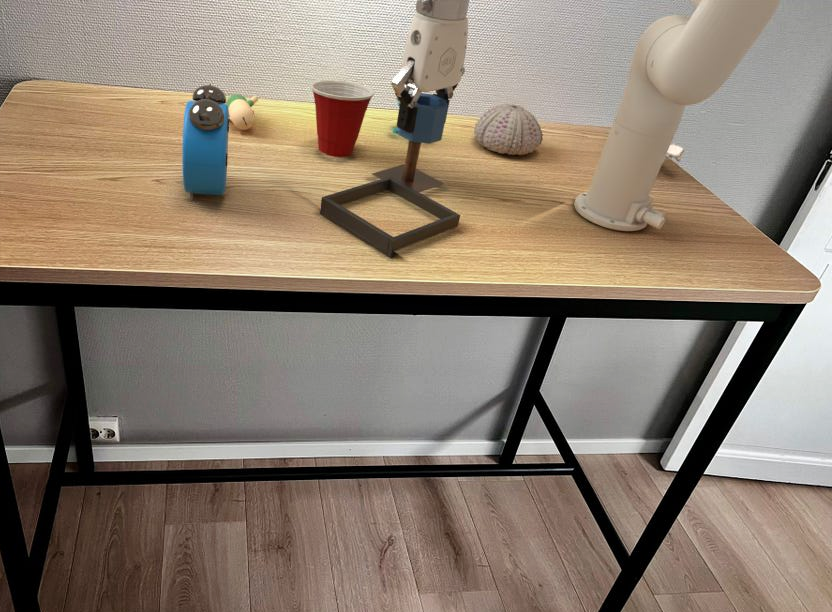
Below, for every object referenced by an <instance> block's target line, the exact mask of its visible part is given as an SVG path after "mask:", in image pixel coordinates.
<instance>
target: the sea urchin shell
mask: <svg viewBox="0 0 832 612" xmlns="http://www.w3.org/2000/svg"><path fill="white" fill-rule="evenodd" d="M473 129H474V131H473V133H474V138H476V141H477V142H478V144H479V145H480V146H482V148H485V149H487V150H489V151H492V152H496V153H498V154H503V155H504V154H507V155H512V156H515V155H519V156H523V155H528V154H530V153H531V154H532V153H533V151H537V149H538V148H539V147H540V146H541V145H542V142H543V140H544V138H543V136H544V134H543V130H542V127H541V125H540V123H539V122H538V119H537V118H536V117H535V115H534V114H532V113H531V111H528V110H527V109H525V108H524V107H523V106H521V105H517V104H510V103H499V104H497V105H495V106H492V107H491V108H488V109H487V111H484V113H483V115H481V116H480V117H479V119H477V121H476V123H475V124H474V128H473Z"/></svg>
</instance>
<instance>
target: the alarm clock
mask: <svg viewBox="0 0 832 612" xmlns="http://www.w3.org/2000/svg"><path fill="white" fill-rule="evenodd" d="M226 102H227V96H226V94H225V92H224V91H223V90H222V89H221V88H219V87H217V86H215V85H212V84H211V83H208V84H204V85H201V86H199V87H197V88H196V89H195V90H194V91H193V93H192V100H189V101H187V102H186V104H185V108H184V115H183V129H182V158H181V159H182V161H181V162H182V182H183V189H184V191H185V192H186V193H188V194H189V200H193V195H194V194H198V195H210V196H224V195H226V190H227V177H228V158H229V157H228V156H229V155H228V153H229V132H230V118H229V109H228V106H227V105H226Z"/></svg>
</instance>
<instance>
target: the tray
mask: <svg viewBox="0 0 832 612" xmlns="http://www.w3.org/2000/svg"><path fill="white" fill-rule="evenodd" d="M386 191H389V192H391V193H393V194H395V195H397V196H398V197H400V198H401V199H404V200H405V201H407V202H409V203H411V204H412V205H414V206H416V207H418V208H420V209H422V210H423V211H425V212H427V213H429V214H430V215H432V216H434V217H436V218H438V219H437V220H434V221H432V222H430V223H427V224H423V225H422V226H420V227H416V228H413V229H411V230H409V231H406V232H403V233H401V234H400V233H399V234H398V235H395V236H392V235H391V234H390V233H387V232H386V231H384V230H383V229H381V228H379V227H378V226H376V225H374V224H373V223H371V222H370V221H367V220H366V219H364V218H362V217H361V216H359V215H358V214H357V213H354V212H353V211H351V210H349V209H347V208H346V207H344V205H345V204H348V203H351V202H355V201H357V200H358V201H359V200H360V199H364V198H367V197H370V196H373V195H376V194H380V193H383V192H386ZM320 201H321V202H320V207H319V208H320V210H319V214H320V215H321V216H323V217H324V218H326V219H328V220H329V221H331V222H332V223H334V224H335V225H337V226H339V227H340V228H342V229H343V230H344V231H347V232H348V233H350V234H352V236H355V237H356V238H358V239H359V240H361V241H363V242H364V243H366V244H367V245H369V246H371V247H372V248H374V249H375V250H377V251H379V252H380V253H382V254H383V255H385V256H387V257H388V258H393V257H397V256H399V255H400V254H399V253H398V252H397V251H398V250H401V249H404V248H406V247H409V246H411V245H414V244H416V243H418V242H421V241H423V240H426V239H428V238H432V237H433V236H435V235H439V234H441V233H443V232H446V231H449V230H451V229H454V228H456V227H458V226H459V223H460V219H461V214H460V213H458V212H456V211H454V210H452V209H450V208H448V207H447V206H445V205H443V204H441V203H439V202H437V201H436V200H434V199H432V198H431V197H428V196H427V195H425V194H423V193H422V192H417V191H415V190H414V189H412V188H410V187H408V186H406V185H405V184H403V183H401V182H399V181H397V180H395V179H394V178H392V177H387V178H383V179H377V180H374V181H369V182H368V183H364V184H361V185H357V186H354V187H350V188H347V189H344V190H341V191H337V192H333V193H331V194H328V195H324V196H322V197H321V200H320ZM342 205H343V206H342Z"/></svg>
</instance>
